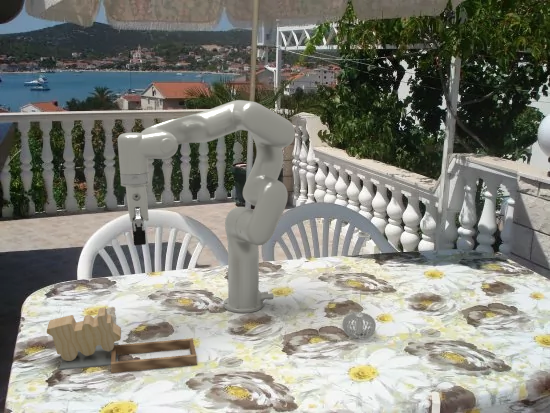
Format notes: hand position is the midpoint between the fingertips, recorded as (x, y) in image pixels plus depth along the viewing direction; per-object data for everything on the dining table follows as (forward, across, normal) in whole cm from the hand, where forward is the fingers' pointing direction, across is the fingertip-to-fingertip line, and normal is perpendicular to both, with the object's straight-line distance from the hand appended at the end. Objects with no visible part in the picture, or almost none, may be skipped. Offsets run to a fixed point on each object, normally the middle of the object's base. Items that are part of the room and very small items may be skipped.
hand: (139, 239), depth 172 cm
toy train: (+25, -14, +15) cm, 32 cm away
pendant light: (+29, -17, -58) cm, 67 cm away
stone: (+27, +1, +12) cm, 29 cm away
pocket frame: (+27, -20, -1) cm, 33 cm away
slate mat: (+26, -14, +15) cm, 33 cm away
